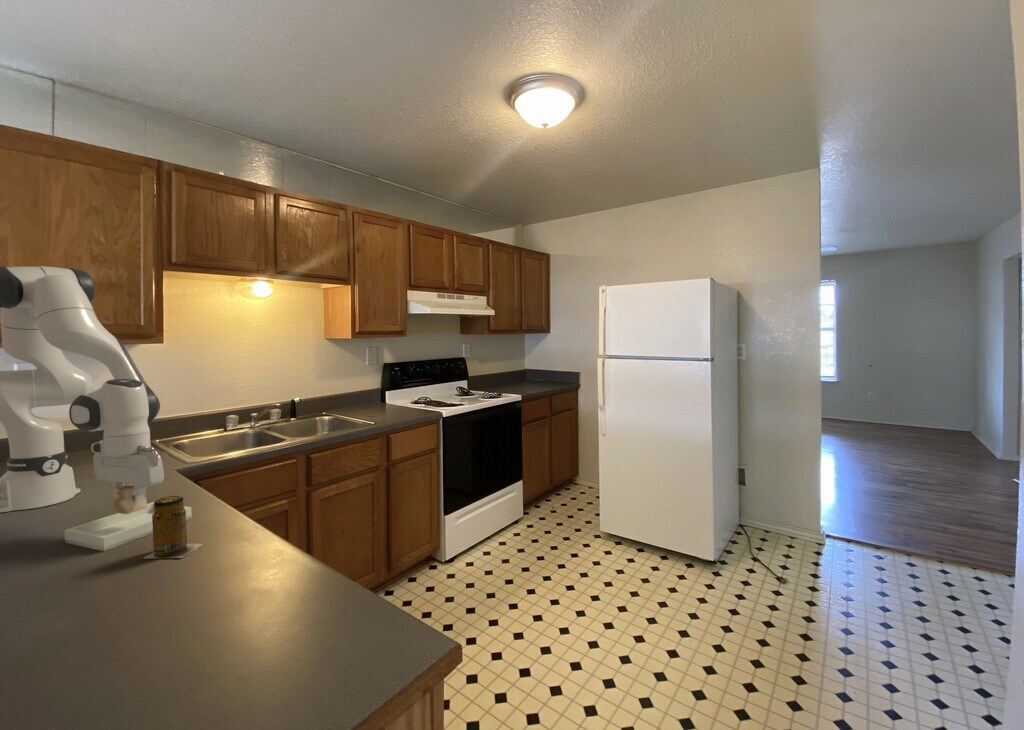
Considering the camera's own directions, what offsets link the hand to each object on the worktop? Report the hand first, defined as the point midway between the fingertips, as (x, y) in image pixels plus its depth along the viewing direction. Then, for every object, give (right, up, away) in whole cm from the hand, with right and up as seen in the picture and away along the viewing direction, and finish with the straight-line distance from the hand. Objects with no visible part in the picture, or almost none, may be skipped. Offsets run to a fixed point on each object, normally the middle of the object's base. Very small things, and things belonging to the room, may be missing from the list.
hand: (130, 499), depth 114 cm
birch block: (0, -3, 0) cm, 3 cm away
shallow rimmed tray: (0, -8, +1) cm, 8 cm away
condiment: (+19, -9, -11) cm, 24 cm away
